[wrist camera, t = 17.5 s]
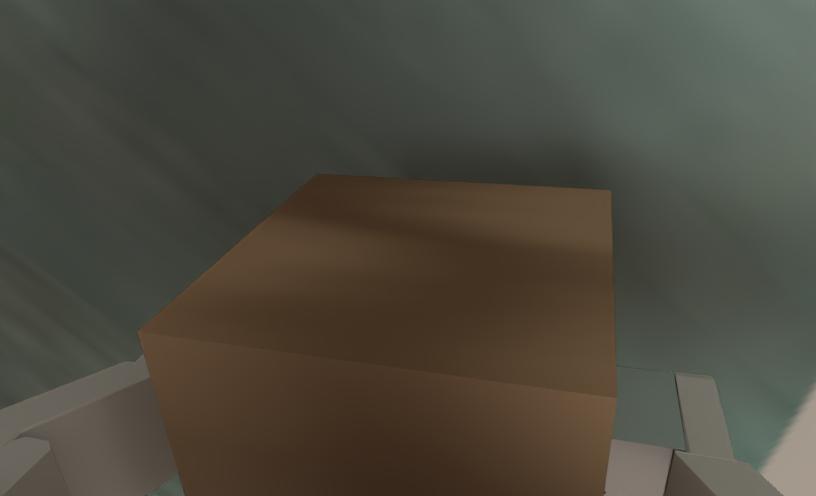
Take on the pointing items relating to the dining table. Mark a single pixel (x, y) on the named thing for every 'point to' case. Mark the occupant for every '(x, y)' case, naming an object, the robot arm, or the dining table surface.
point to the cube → (398, 346)
